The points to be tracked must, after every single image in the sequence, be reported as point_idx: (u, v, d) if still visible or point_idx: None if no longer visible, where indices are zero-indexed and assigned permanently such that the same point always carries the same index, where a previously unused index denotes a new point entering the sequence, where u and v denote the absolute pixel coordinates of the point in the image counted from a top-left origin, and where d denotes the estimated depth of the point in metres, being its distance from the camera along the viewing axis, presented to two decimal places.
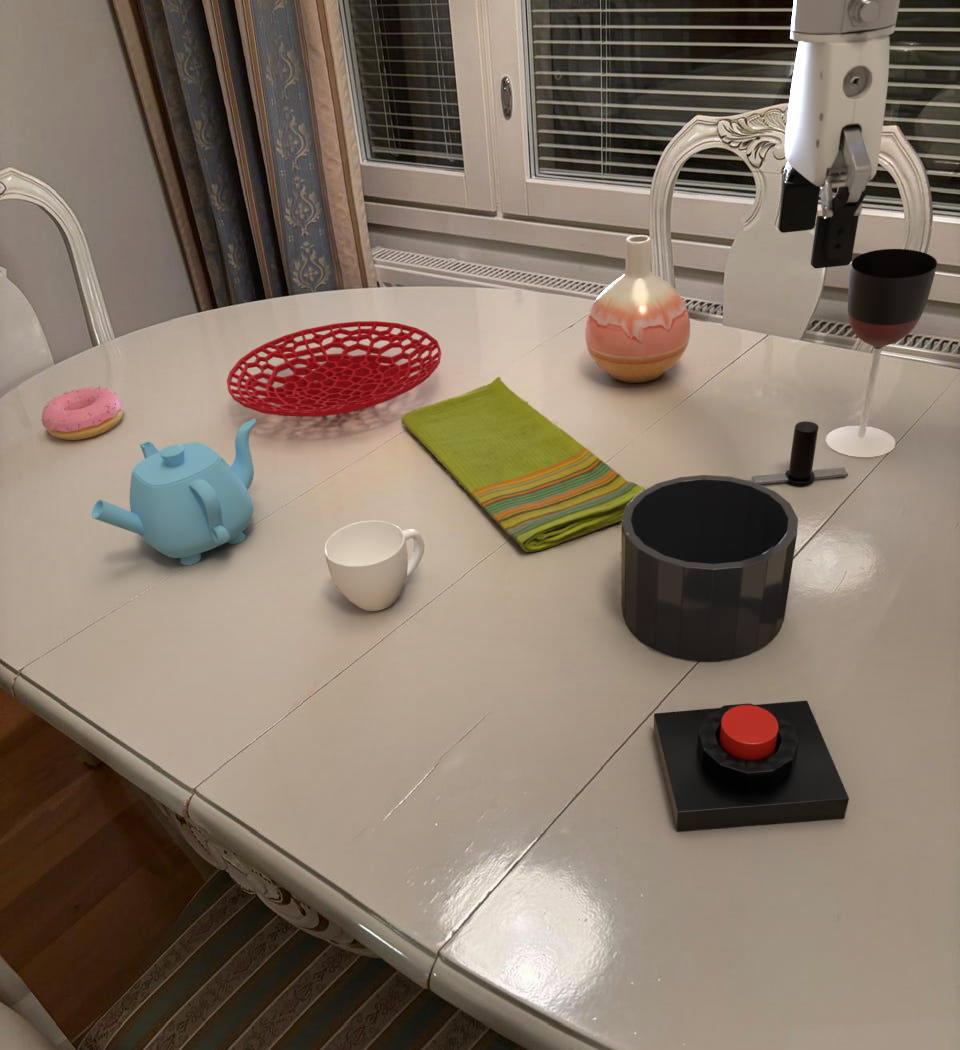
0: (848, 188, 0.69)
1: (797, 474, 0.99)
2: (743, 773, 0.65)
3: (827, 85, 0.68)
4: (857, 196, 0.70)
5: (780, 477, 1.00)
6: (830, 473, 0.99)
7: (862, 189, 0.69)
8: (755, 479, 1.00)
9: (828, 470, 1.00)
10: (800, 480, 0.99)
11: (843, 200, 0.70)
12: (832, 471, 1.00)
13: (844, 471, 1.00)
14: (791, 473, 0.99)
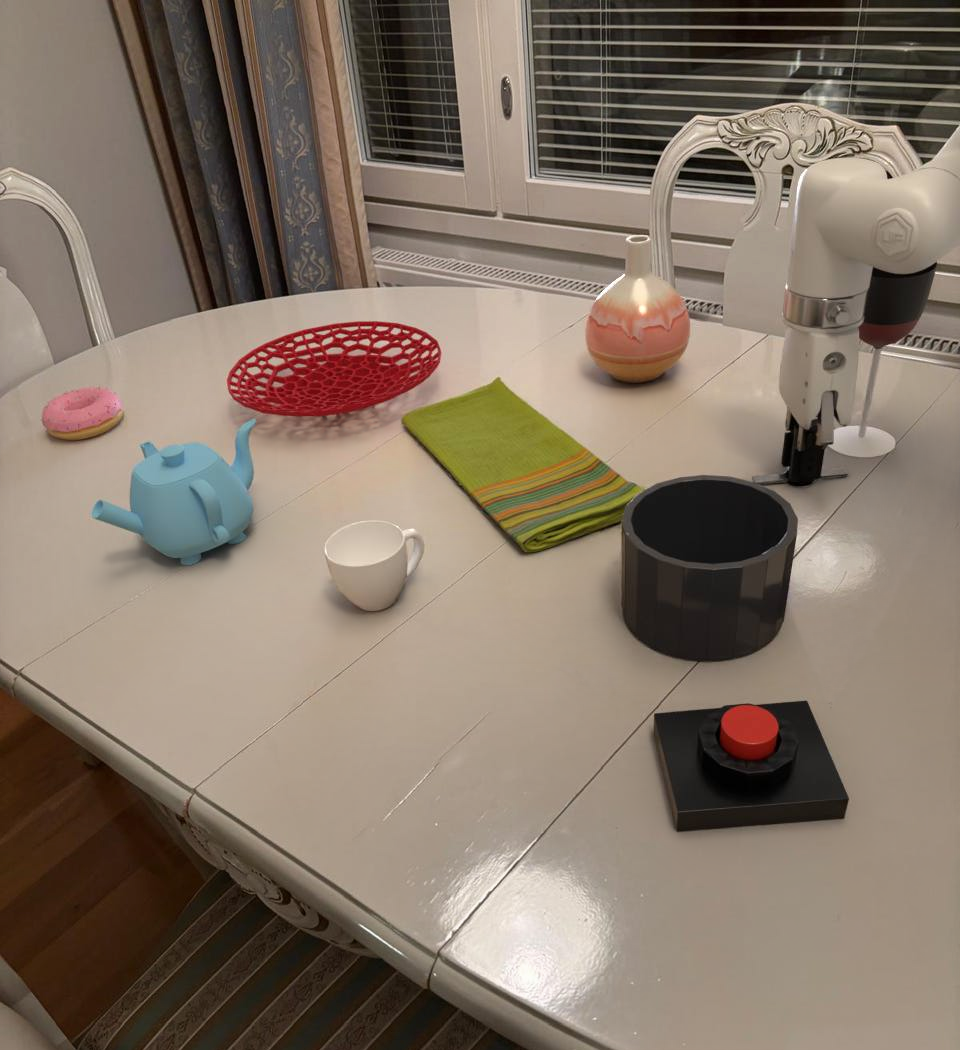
0: (815, 442, 0.92)
1: None
2: (743, 773, 0.65)
3: (811, 363, 0.87)
4: None
5: (780, 477, 1.00)
6: (830, 473, 0.99)
7: None
8: (755, 479, 1.00)
9: (828, 470, 1.00)
10: None
11: (811, 444, 0.93)
12: (832, 471, 1.00)
13: (844, 471, 1.00)
14: None
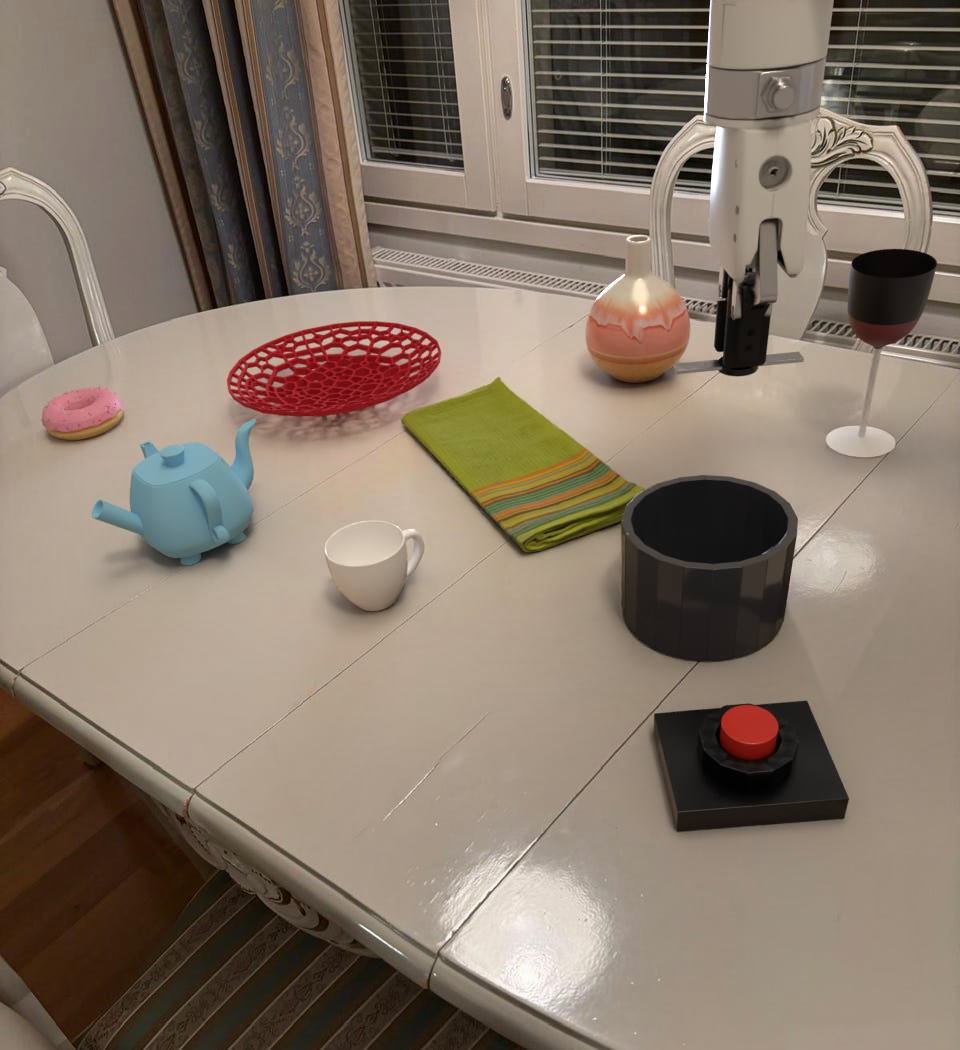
0: (753, 301, 0.65)
1: None
2: (743, 773, 0.65)
3: (742, 175, 0.60)
4: None
5: (711, 364, 0.73)
6: (780, 358, 0.72)
7: (768, 304, 0.65)
8: (677, 367, 0.73)
9: (777, 355, 0.73)
10: None
11: (748, 306, 0.66)
12: (782, 356, 0.73)
13: (799, 356, 0.72)
14: None
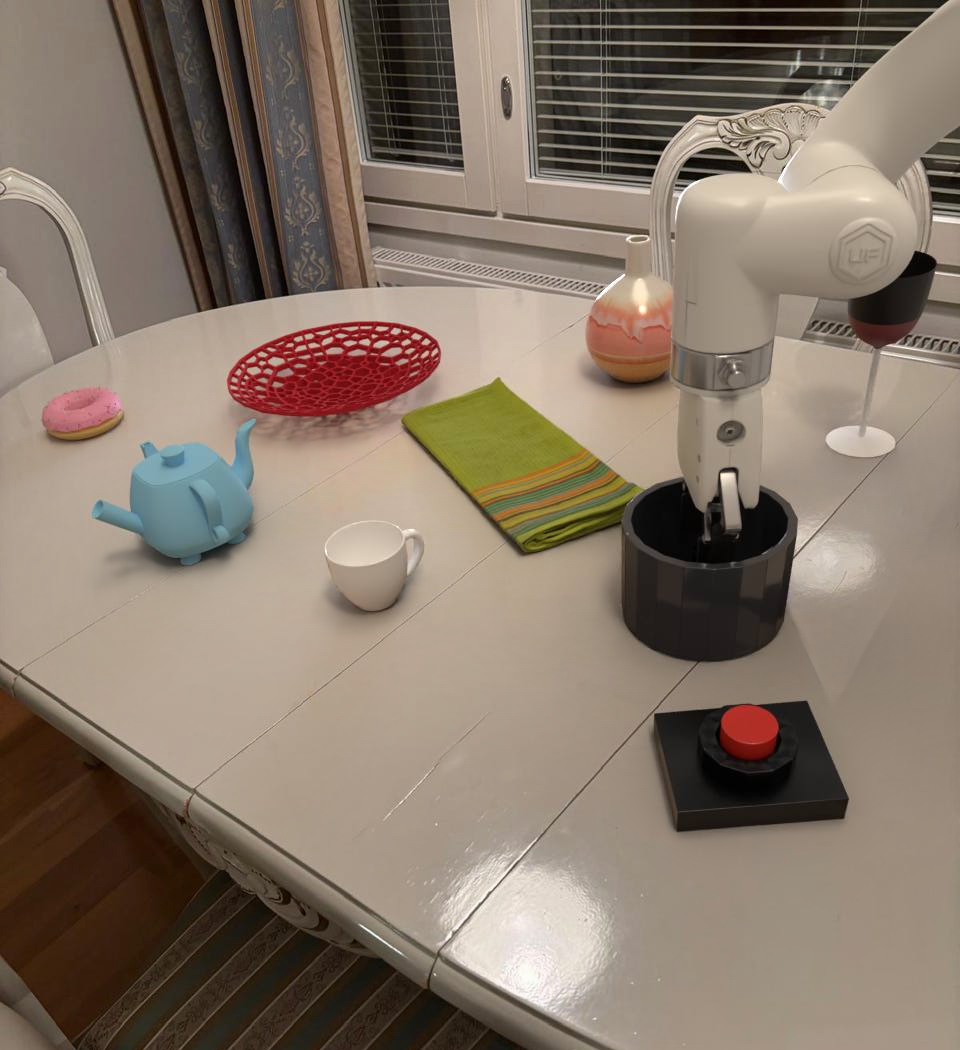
0: (721, 532, 0.72)
1: None
2: (743, 773, 0.65)
3: (702, 433, 0.69)
4: None
5: None
6: None
7: (734, 534, 0.71)
8: None
9: None
10: None
11: (717, 538, 0.72)
12: None
13: None
14: None
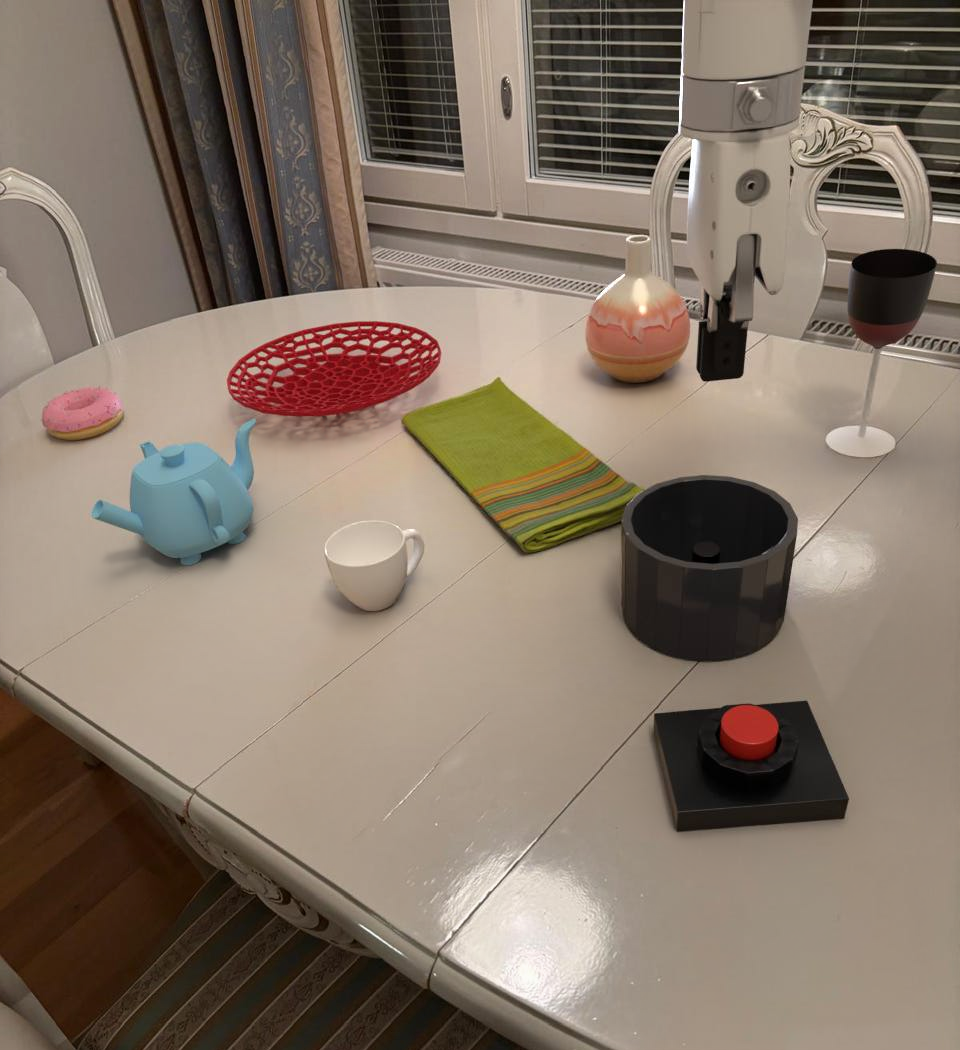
0: (729, 316, 0.63)
1: None
2: (743, 773, 0.65)
3: (718, 190, 0.58)
4: None
5: None
6: None
7: None
8: None
9: None
10: None
11: None
12: None
13: None
14: None
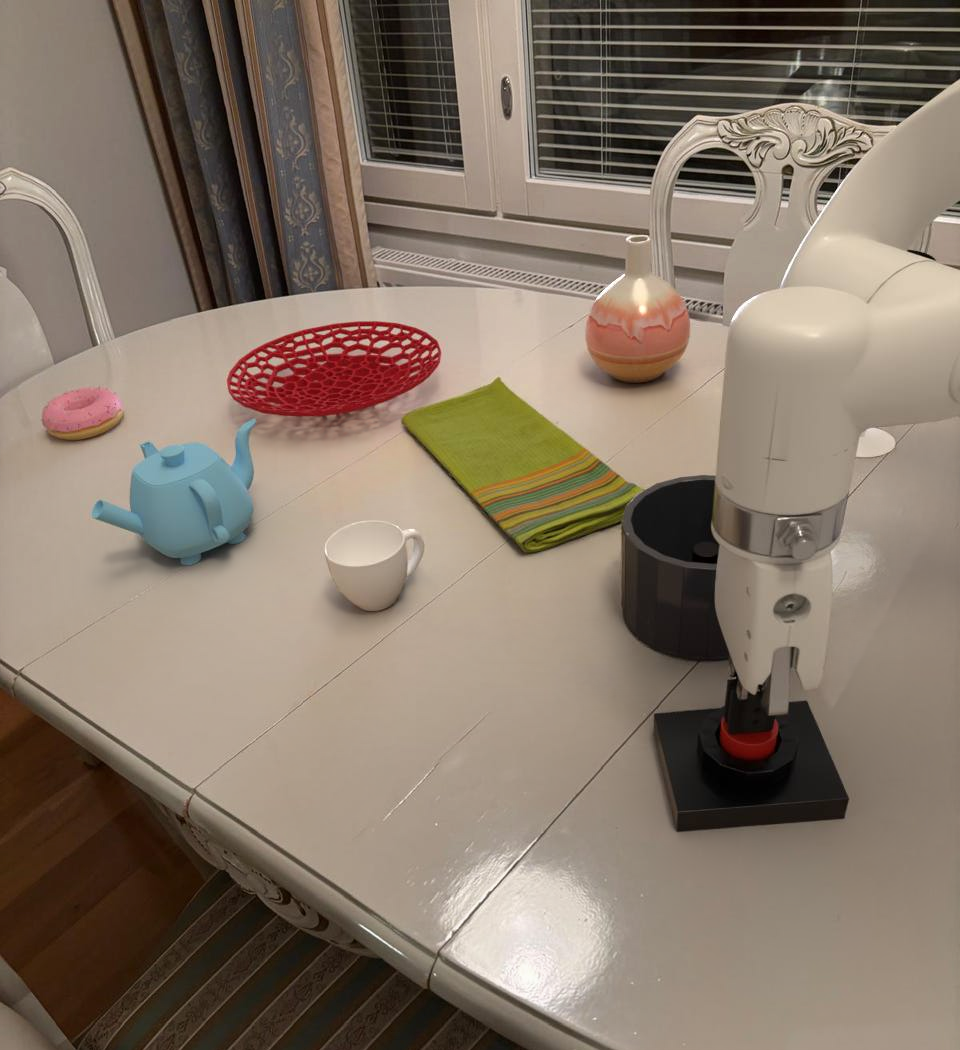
0: (761, 701, 0.60)
1: None
2: (743, 773, 0.65)
3: (755, 607, 0.54)
4: None
5: None
6: None
7: None
8: None
9: None
10: None
11: (755, 698, 0.60)
12: None
13: None
14: None
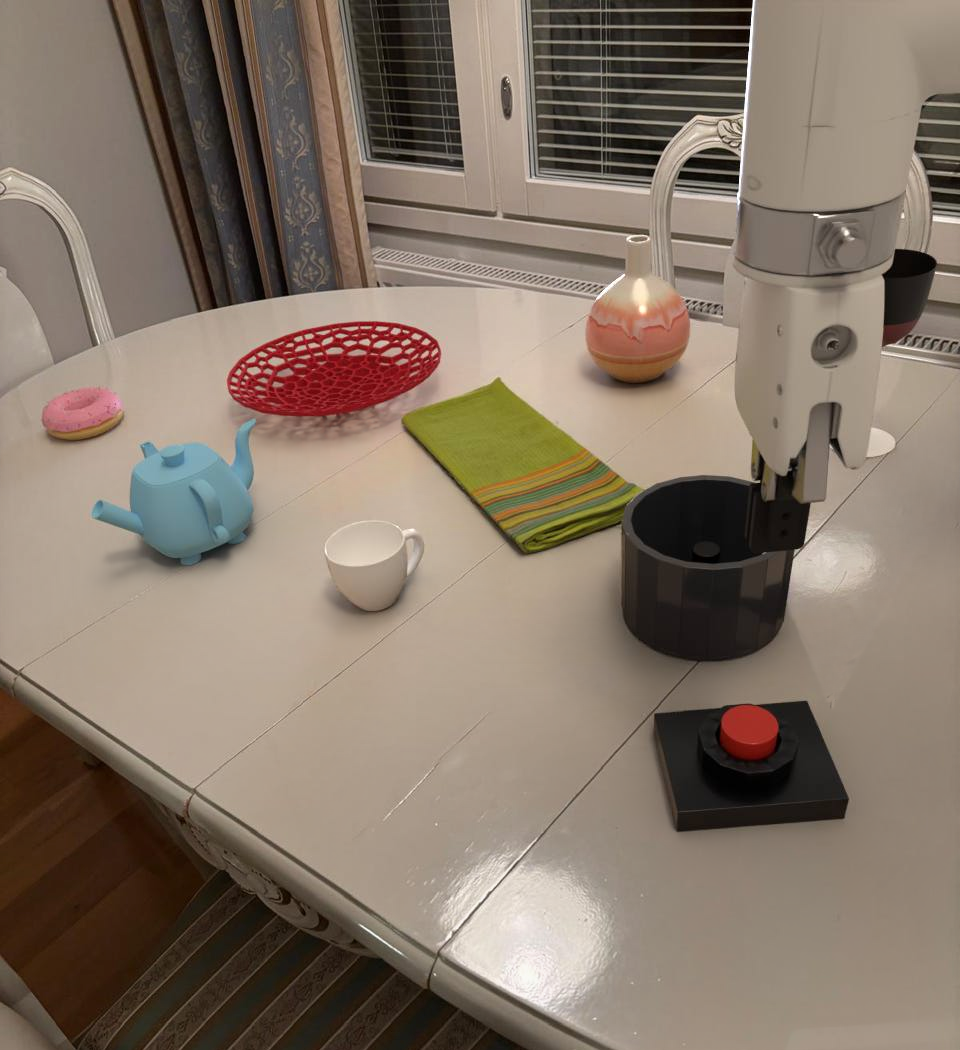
0: (792, 491, 0.49)
1: None
2: (743, 773, 0.65)
3: (788, 348, 0.44)
4: None
5: None
6: None
7: None
8: None
9: None
10: None
11: (784, 491, 0.50)
12: None
13: None
14: None
